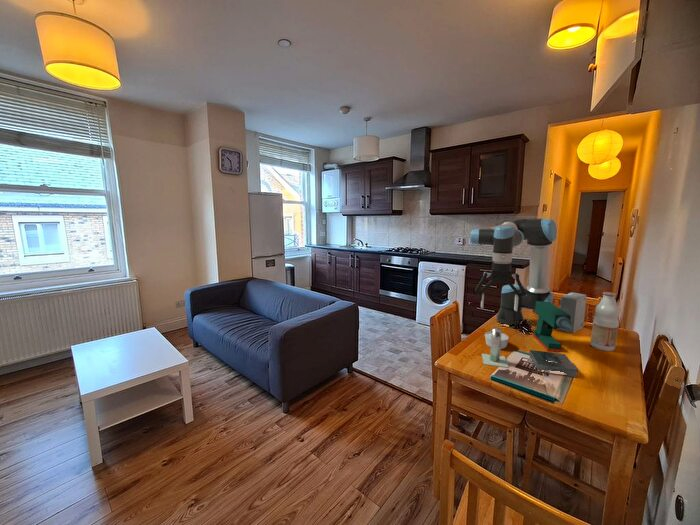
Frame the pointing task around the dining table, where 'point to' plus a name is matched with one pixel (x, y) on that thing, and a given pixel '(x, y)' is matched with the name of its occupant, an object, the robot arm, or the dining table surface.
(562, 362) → the plate
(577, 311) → the hard drive box
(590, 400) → the dining table surface
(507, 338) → the ramekin
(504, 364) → the rubber mat
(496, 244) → the robot arm
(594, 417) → the dining table surface
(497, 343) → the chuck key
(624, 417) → the dining table surface
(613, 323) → the fruit juice
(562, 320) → the power tool
